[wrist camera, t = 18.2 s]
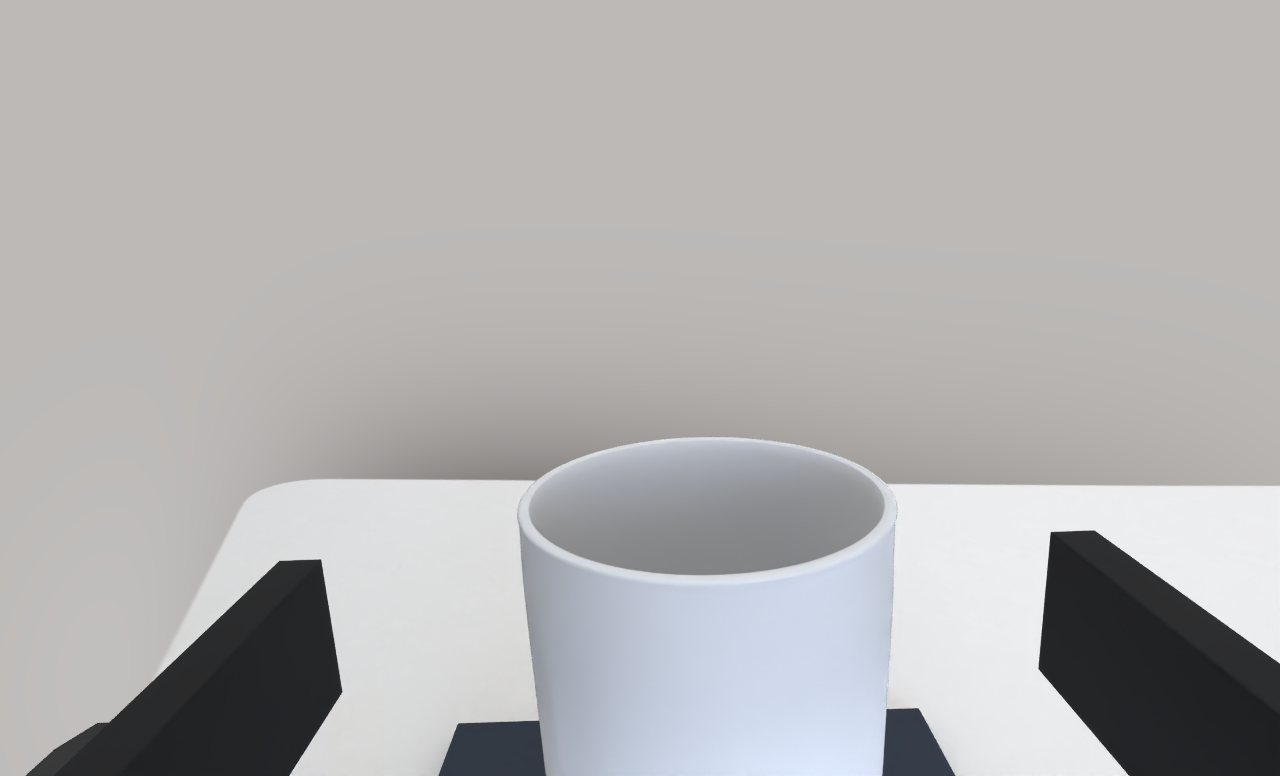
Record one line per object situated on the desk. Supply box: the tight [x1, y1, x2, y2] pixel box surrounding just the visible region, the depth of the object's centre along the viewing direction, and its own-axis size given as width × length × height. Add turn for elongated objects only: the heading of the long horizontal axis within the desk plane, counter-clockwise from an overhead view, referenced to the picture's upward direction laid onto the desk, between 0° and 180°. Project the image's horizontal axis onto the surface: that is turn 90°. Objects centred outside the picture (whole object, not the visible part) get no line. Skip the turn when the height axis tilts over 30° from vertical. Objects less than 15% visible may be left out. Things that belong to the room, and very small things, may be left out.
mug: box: [517, 437, 898, 776], centre depth 16 cm, size 10×7×12 cm, turn 11°
